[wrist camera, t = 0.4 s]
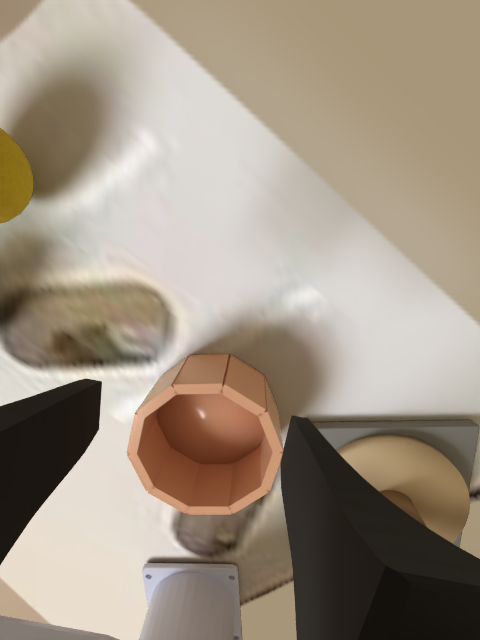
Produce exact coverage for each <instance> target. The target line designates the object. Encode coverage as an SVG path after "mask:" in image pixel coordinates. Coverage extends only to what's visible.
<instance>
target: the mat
mask: <svg viewBox="0 0 480 640" xmlns="http://www.w3.org/2000/svg"><path fill="white" fill-rule="evenodd" d="M312 423H313V424H314V426H315V427H316V428H317V429H318V430H319V431H320V433H321V434H322V435H323V436H324V437H325V438H326V440H327V441H328V442H329V443H330V444H331V445H332V446H333V447H334V449H335V450H337V449H338V448H340V447H342V446H344V445H345V444H347V443H350V442H352V441H354V440H357V439H361V438H364V437H368V436H374V435H384V434H392V435H403V436H409V437H412V438H416V439H419V440H421V441H424V442H426V443H428V444H430V445H432V446H433V447H435V448H436V449H438V450H439V451H440V452H441V453H443V454H444V455H445V456H446V457H447V459H448V460H449V461H450V462H451V463H452V464H453V465H454V466H455V468H456V469H457V470H458V471H459V473H460V474H461V476H462V477H463V479H464V481H465V483H466V485H467V488H468V492H469V486H470V480H471V474H472V468H473V462H474V456H475V450H476V444H477V437H478V431H479V426H478V425H477V424H476V423H474V422H473V421H472V420H429V421H365V422H312ZM461 535H462V532H461V533H460V535H459V536H458V538H457V539H456V540H455V541H454V543H453V544H454V545H456V546H457V547H460V541H461Z"/></svg>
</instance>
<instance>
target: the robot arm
mask: <svg viewBox="0 0 480 640" xmlns="http://www.w3.org/2000/svg"><path fill="white" fill-rule="evenodd" d="M101 386H102V382H101V381H96V380H90V379H82V380H79V381H75V382H72V383H69V384H66V385H63V386H60V387H57V388H55V389H52V390H49V391H46V392H43V393H40V394H37V395H35V396H32V397H29V398H25V399H22V400H19V401H16V402H13V403H9V404H6V405H3V406H0V565H1V563H2V562H3V560H4V558H5V557H6V555H7V554H8V552H9V551H10V549H11V548H12V546H13V545H14V543H15V542H16V540H17V539H18V538H19V536H20V535H21V533H22V532H23V530H24V529H25V527H26V526H27V524H28V523H29V521H30V520H31V519H32V517H33V516H34V515H35V513H36V512H37V511H38V509H39V508H40V507H41V506H42V504H43V503H44V502H45V501H46V499H47V498H48V497H49V496H50V495H51V493H52V492H53V491H54V490H55V488H56V487H57V486H58V485H59V484H60V482H61V481H62V480H63V479H64V477H65V476H66V475H67V474H68V473H69V471H70V470H71V469H72V468H73V466H74V465H75V464H76V463H77V461H78V460H79V459H80V458H81V456H82V455H83V454H84V453H85V451H86V449H87V448H88V446H89V445H90V443H91V441H92V440H93V438H94V436H95V435H96V433H97V431H98V430H99V418H100V402H101ZM281 489H282V497H283V503H284V510H285V516H286V523H287V529H288V536H289V542H290V549H291V556H292V565H293V577H294V593H295V610H296V630H297V640H480V559H479V558H477V557H475V556H473V555H471V554H470V553H468V552H466V551H464V550H462V549H461V548H459V547H457V546H456V545H454V544H452V543H451V542H449V541H448V540H446V539H445V538H443V537H441V536H440V535H438V534H437V533H435V532H434V531H432V530H430V529H429V528H427V527H426V526H424V525H423V524H422V523H420V522H419V521H417V520H416V519H414V518H413V517H411V516H410V515H409V514H407V513H406V512H405V511H403V510H402V509H401V508H399V507H398V506H397V505H395V504H394V503H393V502H391V501H390V500H389V499H388V498H386V497H385V496H384V495H383V494H381V493H380V492H379V491H378V490H377V489H376V488H374V487H373V486H372V485H371V484H370V483H369V482H367V481H366V480H365V479H364V478H363V477H362V476H361V475H360V474H359V473H358V472H357V471H356V470H355V469H354V468H353V467H352V466H351V465H350V464H349V463H348V462H347V461H346V460H345V459H344V458H343V457H342V456H341V455H340V454H339V453H338V452H337V451H336V450H335V449H334V447H333V446H332V445H331V444H330V443H329V442H328V441H327V440H326V438H325V437H324V436H323V435H322V434H321V433H320V431H319V430H318V429H317V428H316V427H315V426H314V424H313V423H312V422H311V421H310V420H309V419H308V418H303V417H297V416H292V417H291V421H290V425H289V429H288V433H287V437H286V442H285V446H284V450H283V454H282V458H281ZM142 574H143V580H144V586H145V592H146V598H147V604H148V610H147V613H146V617H145V620H144V624H143V627H142V631H141V634H140V637H139V640H242V627H241V611H240V596H239V581H238V568H237V567H236V565H234V564H178V563H147V564H145V565H144V566H143V569H142ZM0 640H119V639H116V638H114V637H111V636H108V635H104V634H99V633H93V632H88V631H82V630H77V629H72V628H66V627H61V626H55V625H50V624H44V623H39V622H33V621H28V620H22V619H16V618H11V617H6V616H0Z"/></svg>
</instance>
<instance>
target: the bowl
mask: <svg viewBox="0 0 480 640" xmlns="http://www.w3.org/2000/svg"><path fill="white" fill-rule="evenodd" d="M127 453H128V454H127V456H128V458H129V460H130V462H131V463H132V465H133V467H134V469H135V471H136V473H137V475H138V477H139V478H140V480H141V482H142V484H143V486H144V488H145V490H146V491H148V490H149V491H148V493H149V494H151V495H153V496H155V497H156V498H158V499H160V500H162V501H164V502H165V503H167V504H169V505H171V506H173V507H174V508H176V509H178V510H180V511H181V512H183V513H185V514H186V513H187V511H188V514H231V512H232V513H233V514H234V513H236V512H237V511H239V510H241V509H242V508H244V507H246V506H247V505H249V504H250V503H252V502H254V501H255V500H257V499H259V498H260V497H262V496H263V495H265V494H267V493H268V490H269V491H270V489H271V486H272V484H273V481H274V478H275V475H276V473H277V470H278V467H279V464H280V462H281V458H282V454H283V444H282V437H281V429H280V422H279V414H278V409H277V406H276V403H275V401H274V398H273V396H272V393H271V391H270V388H269V385H268V383H267V380H266V378H265V377H264V375H263V374H261V373H260V372H258V371H257V370H255V369H253V368H252V367H250V366H249V365H247V364H245V363H244V362H242V361H241V360H239V359H238V358H236V357H234V356H233V355H230V357H229V354H209V355H190V356H187V357H186V358H185V359H183V360H182V361H181V362H179V363H178V364H177V365H175V366H174V367H173V368H172V369H170V370H169V371H168V372H166V373H165V374H164V375H162V376H161V377H160V378H159V379H158V381H157V382H156V384H155V385H154V387H153V388H152V389H151V391H150V392H149V394H148V395H147V397H146V398H145V400H144V401H143V402H142V404H141V405H140V407H139V408H138V410H137V411H136V413H135V415H134V419H133V424H132V429H131V434H130V439H129V444H128V449H127Z"/></svg>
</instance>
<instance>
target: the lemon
mask: <svg viewBox="0 0 480 640" xmlns="http://www.w3.org/2000/svg"><path fill="white" fill-rule="evenodd" d="M33 186H34V183H33V173H32V170H31V167H30V164H29V162H28V160H27V158H26V156H25V155H24V153H23V151H22V149H21V148H20V147H19V146H18V145H17V143H16V142H15V141H14V140H13V139H12V138H11V137H10V135H8V134H7V133H6V132H5V131H4V130H2V129H1V128H0V223H4V222H7V221H9V220H11V219H13V218H14V217H16V216H17V215H19V214H20V213H21V212H22V211H23V210H24V209H25V208H26V206H27V205H28V204H29V201H30V199H31V197H32V193H33Z"/></svg>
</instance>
